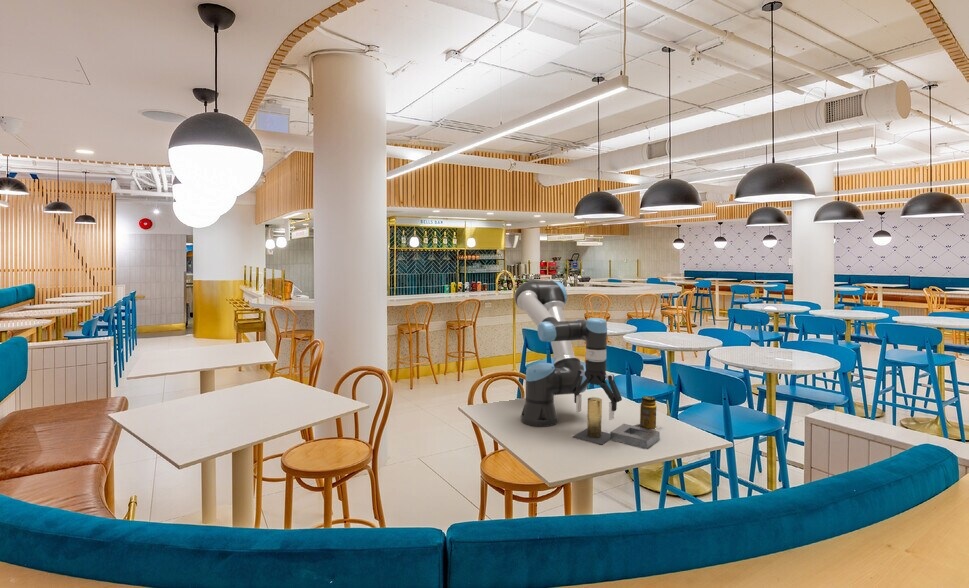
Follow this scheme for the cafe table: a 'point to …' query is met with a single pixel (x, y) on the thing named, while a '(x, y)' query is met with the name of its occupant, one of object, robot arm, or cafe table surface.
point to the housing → (635, 436)
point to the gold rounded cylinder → (594, 417)
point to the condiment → (648, 413)
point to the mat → (600, 441)
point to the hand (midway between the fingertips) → (594, 415)
